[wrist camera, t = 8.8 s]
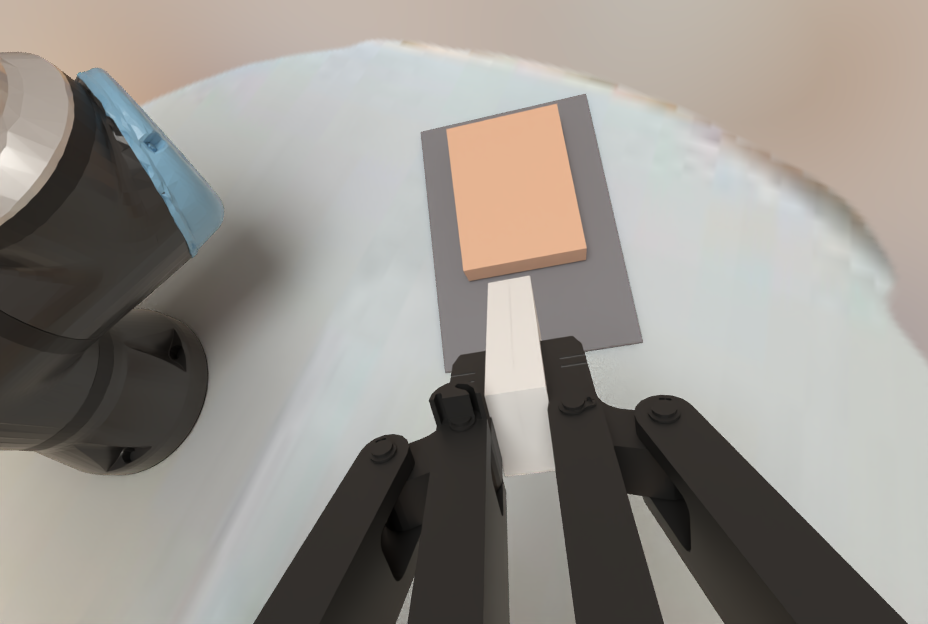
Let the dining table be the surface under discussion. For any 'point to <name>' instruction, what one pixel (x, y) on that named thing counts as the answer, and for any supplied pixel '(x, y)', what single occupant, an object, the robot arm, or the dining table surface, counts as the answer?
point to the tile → (514, 194)
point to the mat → (555, 287)
